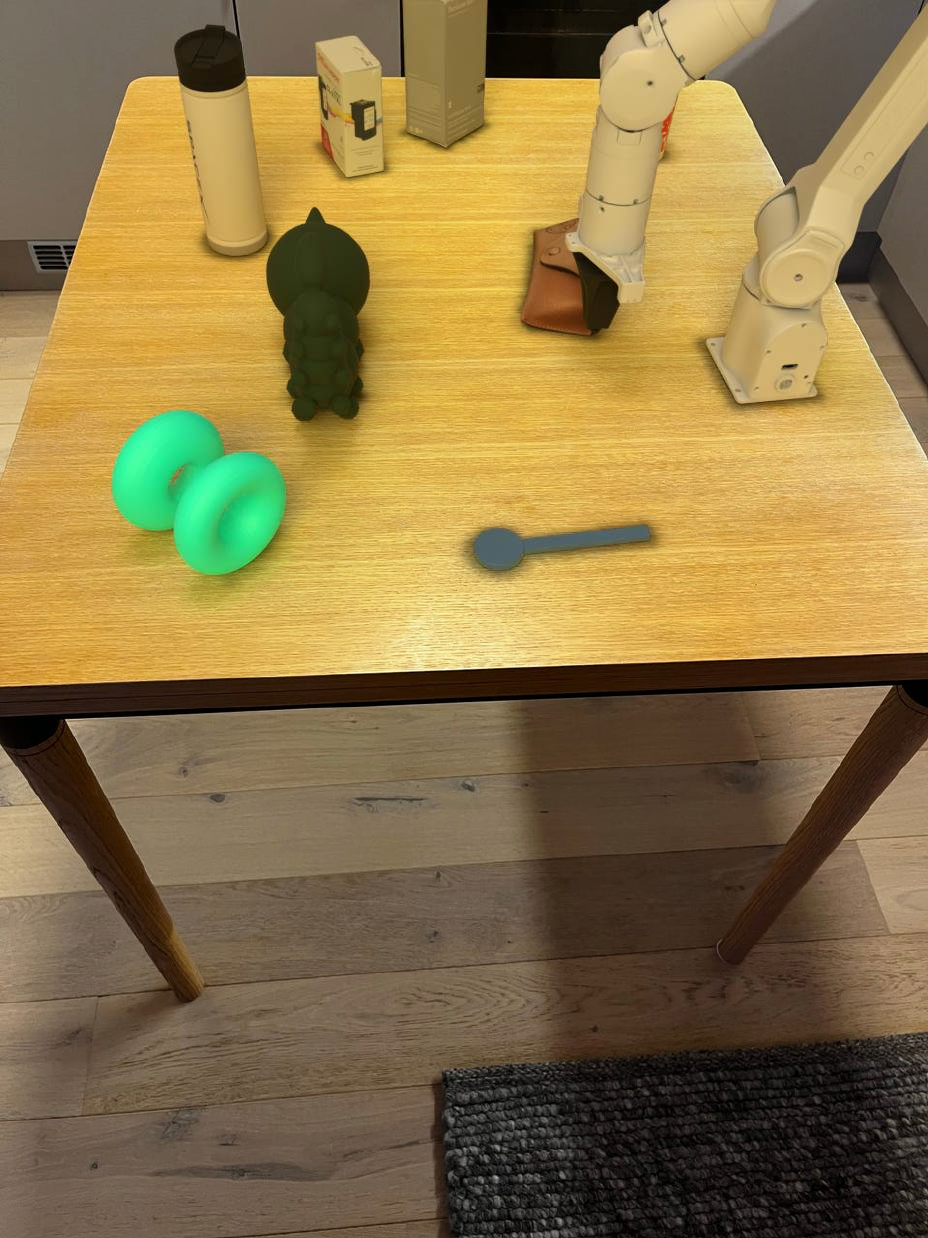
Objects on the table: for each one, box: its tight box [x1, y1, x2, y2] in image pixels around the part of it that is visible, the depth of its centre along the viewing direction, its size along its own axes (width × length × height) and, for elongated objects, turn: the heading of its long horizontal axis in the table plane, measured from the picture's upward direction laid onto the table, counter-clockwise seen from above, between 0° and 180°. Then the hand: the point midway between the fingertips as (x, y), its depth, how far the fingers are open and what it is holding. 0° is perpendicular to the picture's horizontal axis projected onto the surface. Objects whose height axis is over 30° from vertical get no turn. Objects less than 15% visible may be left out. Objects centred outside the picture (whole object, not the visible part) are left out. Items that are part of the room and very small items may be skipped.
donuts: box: [110, 409, 287, 576], centre depth 76 cm, size 10×10×10 cm
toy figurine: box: [265, 206, 371, 422], centre depth 87 cm, size 9×19×25 cm
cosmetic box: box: [402, 0, 488, 148], centre depth 118 cm, size 8×7×16 cm
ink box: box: [314, 35, 385, 178], centre depth 114 cm, size 9×5×12 cm, turn 25°
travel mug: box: [173, 23, 268, 257], centre depth 99 cm, size 6×7×20 cm
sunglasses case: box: [520, 216, 602, 337], centre depth 103 cm, size 18×7×7 cm
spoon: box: [473, 524, 651, 572], centre depth 81 cm, size 4×14×1 cm, turn 100°
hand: (596, 324), depth 95 cm, fingers closed
